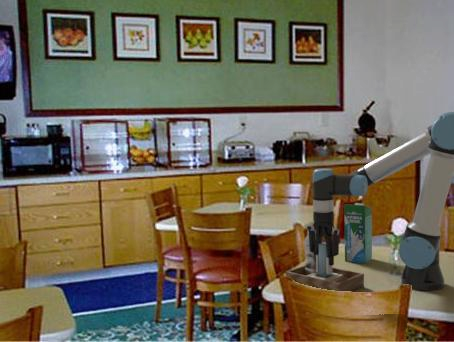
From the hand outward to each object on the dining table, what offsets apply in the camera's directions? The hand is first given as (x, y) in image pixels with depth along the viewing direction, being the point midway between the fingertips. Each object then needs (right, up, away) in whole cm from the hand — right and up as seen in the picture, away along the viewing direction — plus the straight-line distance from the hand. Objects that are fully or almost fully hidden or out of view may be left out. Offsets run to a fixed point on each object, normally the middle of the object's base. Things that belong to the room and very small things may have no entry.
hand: (324, 272), depth 217 cm
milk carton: (+21, -1, +36) cm, 41 cm away
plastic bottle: (-3, -4, +9) cm, 11 cm away
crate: (0, -5, +1) cm, 5 cm away
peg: (0, -2, 0) cm, 2 cm away
